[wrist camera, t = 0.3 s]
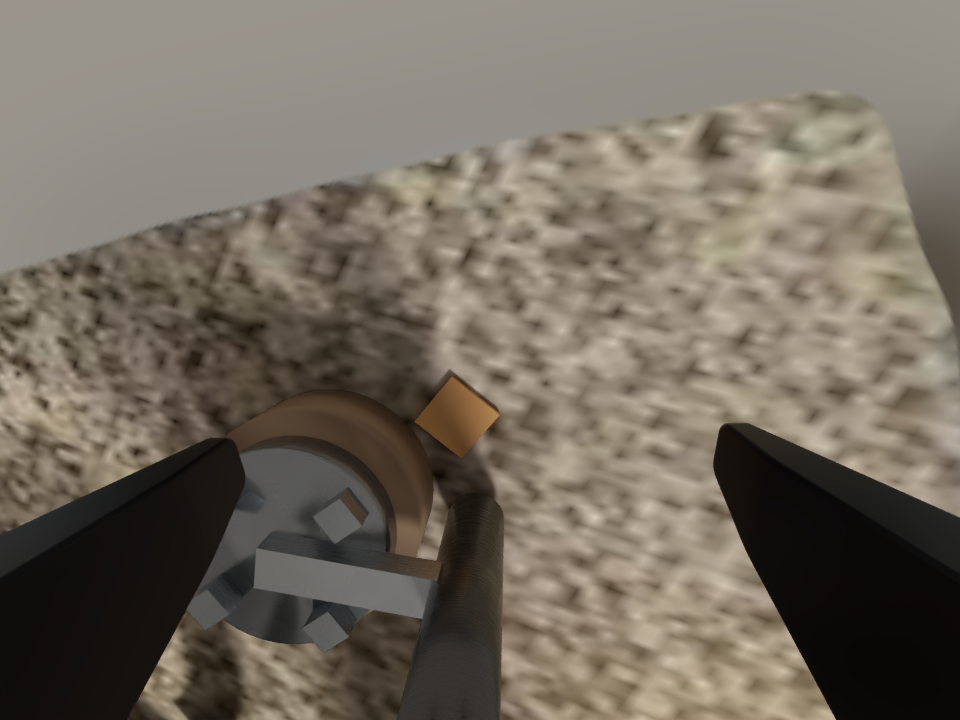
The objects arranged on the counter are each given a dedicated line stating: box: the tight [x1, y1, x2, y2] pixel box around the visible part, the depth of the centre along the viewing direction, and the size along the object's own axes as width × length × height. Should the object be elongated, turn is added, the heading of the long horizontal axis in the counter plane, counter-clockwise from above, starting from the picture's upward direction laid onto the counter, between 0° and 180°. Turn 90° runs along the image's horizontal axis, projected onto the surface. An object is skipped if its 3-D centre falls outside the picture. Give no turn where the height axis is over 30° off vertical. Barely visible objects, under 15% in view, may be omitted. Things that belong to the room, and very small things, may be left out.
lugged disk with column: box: [187, 436, 504, 720], centre depth 17 cm, size 14×9×15 cm, turn 81°
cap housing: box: [224, 375, 500, 614], centre depth 24 cm, size 15×11×4 cm
